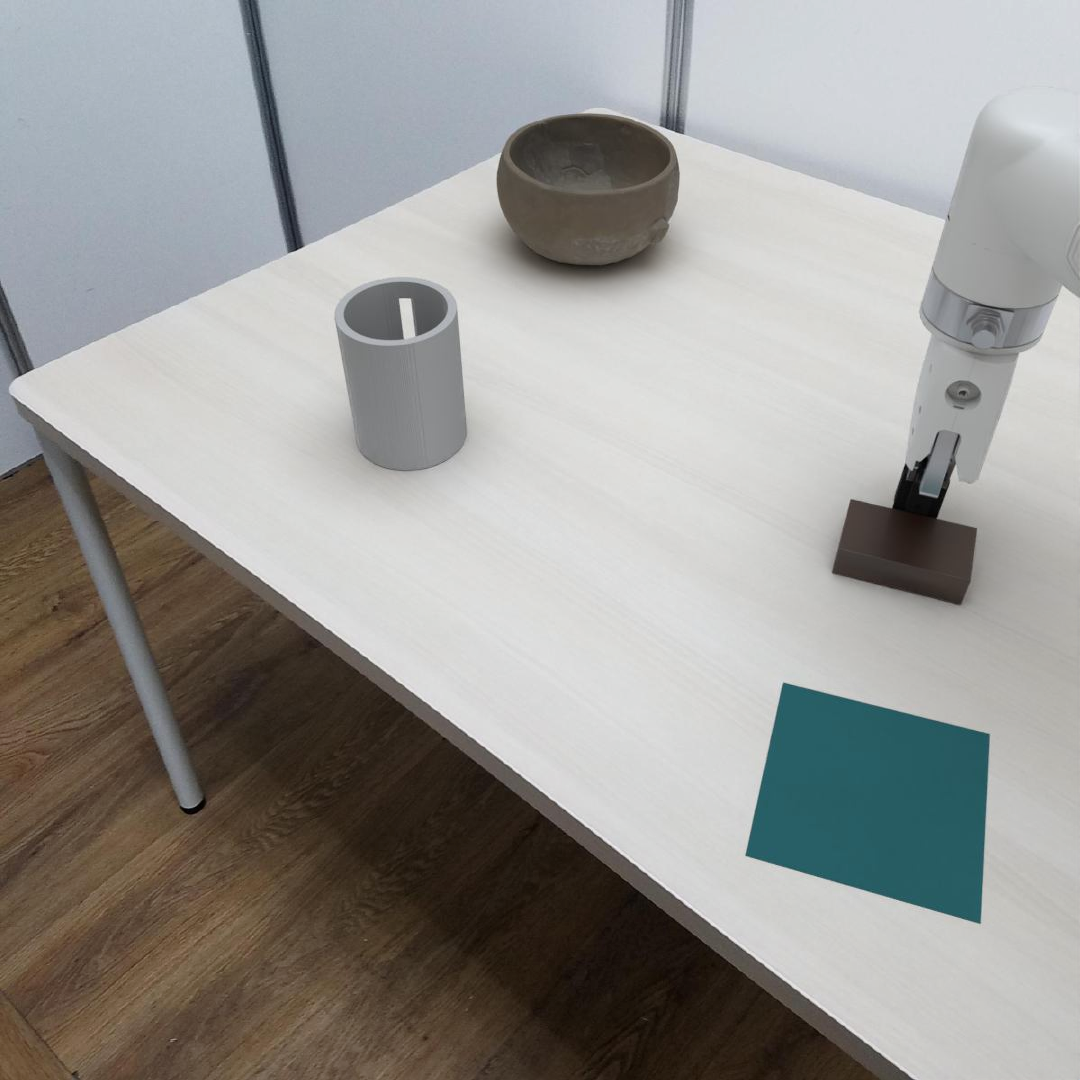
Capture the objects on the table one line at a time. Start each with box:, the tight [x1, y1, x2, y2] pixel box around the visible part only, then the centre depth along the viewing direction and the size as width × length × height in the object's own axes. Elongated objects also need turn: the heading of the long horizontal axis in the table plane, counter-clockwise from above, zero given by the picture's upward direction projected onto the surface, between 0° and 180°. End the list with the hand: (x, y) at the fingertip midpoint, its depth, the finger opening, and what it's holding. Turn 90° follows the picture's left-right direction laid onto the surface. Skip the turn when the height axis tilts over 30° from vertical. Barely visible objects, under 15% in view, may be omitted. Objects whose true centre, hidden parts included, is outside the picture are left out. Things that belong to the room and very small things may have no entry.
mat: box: [745, 682, 991, 924], centre depth 64 cm, size 13×13×1 cm
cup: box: [333, 276, 468, 471], centre depth 84 cm, size 9×9×12 cm
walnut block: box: [831, 498, 978, 605], centre depth 77 cm, size 9×6×2 cm, turn 69°
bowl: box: [496, 112, 681, 266], centre depth 106 cm, size 17×18×10 cm
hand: (914, 511), depth 79 cm, fingers closed
